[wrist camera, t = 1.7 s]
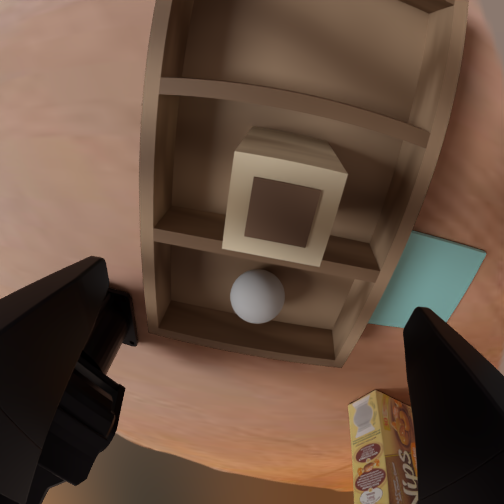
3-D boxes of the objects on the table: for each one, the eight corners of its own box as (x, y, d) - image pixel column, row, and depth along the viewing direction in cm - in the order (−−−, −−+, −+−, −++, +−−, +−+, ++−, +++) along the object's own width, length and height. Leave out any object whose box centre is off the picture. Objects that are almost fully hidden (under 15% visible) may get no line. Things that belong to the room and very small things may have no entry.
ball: (279, 303, 21) (277, 338, 18) (232, 294, 21) (223, 329, 18) (290, 264, 19) (290, 298, 17) (238, 254, 19) (229, 287, 17)
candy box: (345, 404, 29) (349, 535, 16) (376, 387, 27) (390, 527, 14) (389, 420, 31) (399, 529, 18) (416, 406, 29) (433, 519, 16)
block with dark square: (312, 207, 17) (322, 268, 12) (242, 194, 17) (221, 249, 12) (328, 141, 15) (351, 175, 10) (252, 126, 15) (233, 151, 10)
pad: (438, 328, 22) (439, 331, 21) (358, 318, 22) (358, 321, 22) (484, 250, 17) (486, 253, 17) (399, 227, 18) (401, 230, 17)
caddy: (337, 334, 23) (341, 368, 20) (163, 301, 23) (148, 332, 20) (439, 9, 10) (468, 0, 7) (191, -43, 10) (171, -64, 7)
